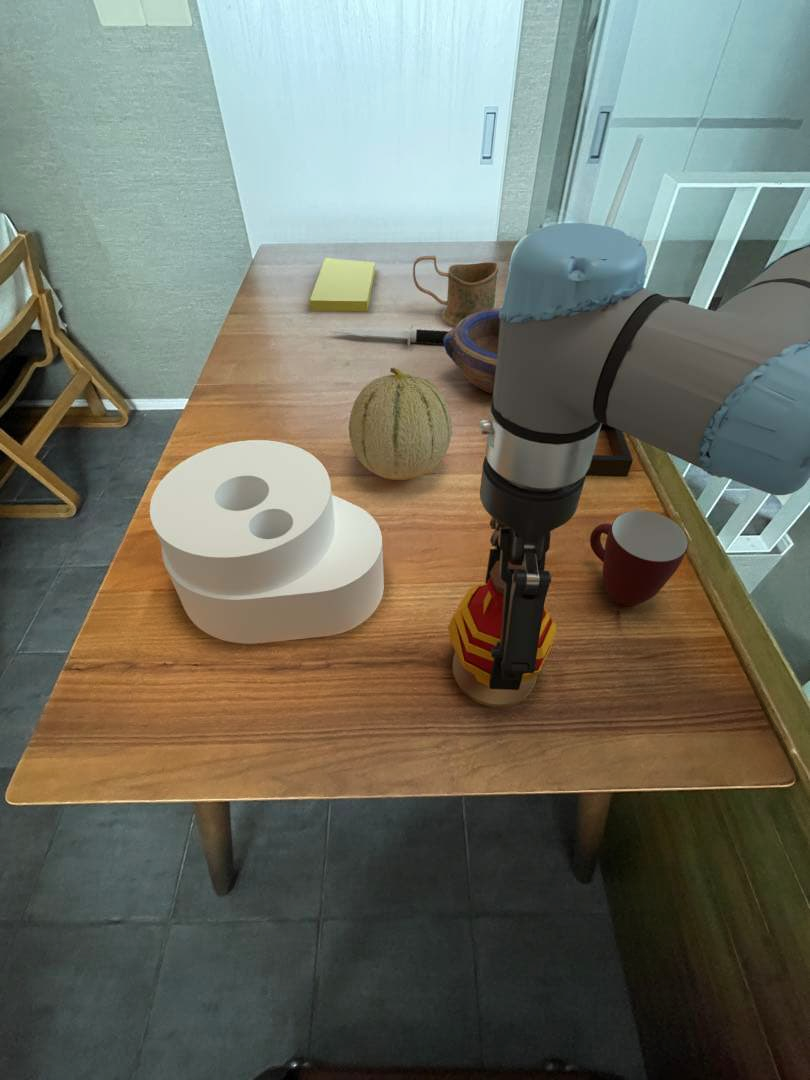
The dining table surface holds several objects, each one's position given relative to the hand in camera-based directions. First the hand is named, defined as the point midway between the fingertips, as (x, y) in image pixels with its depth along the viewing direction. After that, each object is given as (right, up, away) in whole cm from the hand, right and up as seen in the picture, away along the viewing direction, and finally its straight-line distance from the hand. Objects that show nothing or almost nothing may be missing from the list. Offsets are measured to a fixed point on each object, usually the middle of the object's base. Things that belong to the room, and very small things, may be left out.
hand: (500, 636), depth 59 cm
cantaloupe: (-10, +20, +29) cm, 37 cm away
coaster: (0, -4, +4) cm, 6 cm away
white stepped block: (-25, +5, +13) cm, 28 cm away
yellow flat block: (-23, +67, +75) cm, 103 cm away
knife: (-12, +49, +57) cm, 76 cm away
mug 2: (+16, +4, +12) cm, 21 cm away
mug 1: (+1, +57, +64) cm, 85 cm away
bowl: (+7, +38, +46) cm, 60 cm away
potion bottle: (0, -4, +4) cm, 6 cm away
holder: (+17, +24, +32) cm, 43 cm away
